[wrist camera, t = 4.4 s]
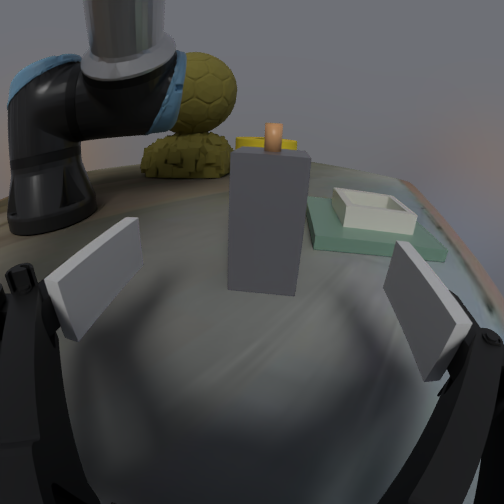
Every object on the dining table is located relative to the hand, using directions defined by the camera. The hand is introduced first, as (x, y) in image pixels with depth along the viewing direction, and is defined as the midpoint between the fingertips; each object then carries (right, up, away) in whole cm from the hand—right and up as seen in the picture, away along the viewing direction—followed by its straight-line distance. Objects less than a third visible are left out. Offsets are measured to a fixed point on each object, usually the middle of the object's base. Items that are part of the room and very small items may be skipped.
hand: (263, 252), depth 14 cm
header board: (+15, +3, +21) cm, 26 cm away
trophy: (-15, +20, +53) cm, 59 cm away
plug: (0, -2, +10) cm, 10 cm away
